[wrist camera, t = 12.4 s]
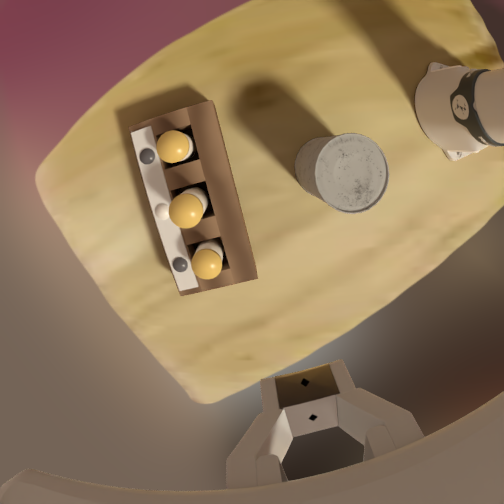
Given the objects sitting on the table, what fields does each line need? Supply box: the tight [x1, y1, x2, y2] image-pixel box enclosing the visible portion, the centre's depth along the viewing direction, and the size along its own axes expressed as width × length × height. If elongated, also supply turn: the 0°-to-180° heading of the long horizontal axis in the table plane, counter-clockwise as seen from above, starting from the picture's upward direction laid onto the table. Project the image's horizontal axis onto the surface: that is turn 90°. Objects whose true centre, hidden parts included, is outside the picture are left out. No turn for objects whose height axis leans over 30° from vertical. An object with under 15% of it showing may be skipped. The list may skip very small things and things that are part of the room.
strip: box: [131, 126, 199, 291], centre depth 39 cm, size 3×24×1 cm, turn 14°
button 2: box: [191, 237, 224, 279], centre depth 43 cm, size 4×4×8 cm
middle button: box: [169, 187, 209, 228], centre depth 38 cm, size 4×4×8 cm
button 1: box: [156, 130, 197, 163], centre depth 38 cm, size 4×4×8 cm
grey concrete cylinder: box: [294, 133, 389, 214], centre depth 38 cm, size 10×10×12 cm
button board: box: [128, 100, 258, 296], centre depth 42 cm, size 12×26×5 cm, turn 14°
